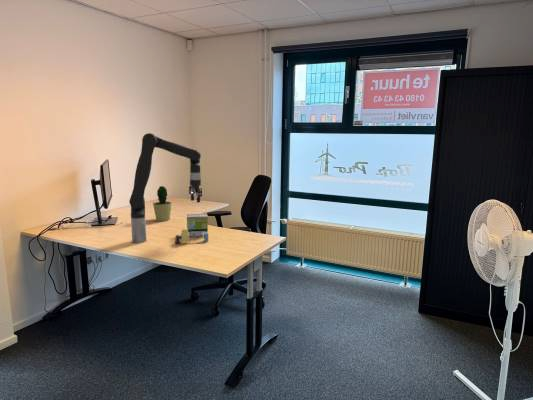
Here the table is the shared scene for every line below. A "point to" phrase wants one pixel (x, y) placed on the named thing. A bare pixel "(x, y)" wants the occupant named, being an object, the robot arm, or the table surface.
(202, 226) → the tea box
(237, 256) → the table surface
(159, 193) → the potted cactus
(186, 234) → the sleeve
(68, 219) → the table surface
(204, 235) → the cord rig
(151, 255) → the table surface
